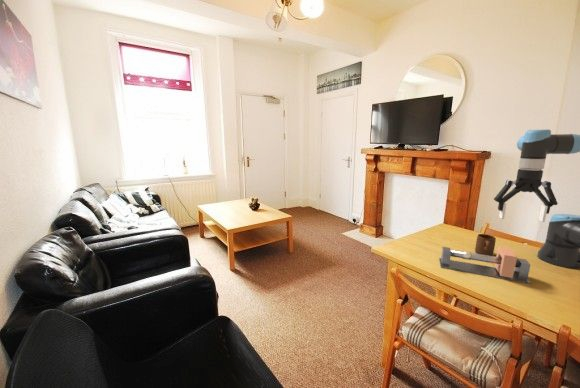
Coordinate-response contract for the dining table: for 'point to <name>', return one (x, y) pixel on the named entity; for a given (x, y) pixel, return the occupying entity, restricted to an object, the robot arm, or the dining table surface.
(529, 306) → the dining table surface
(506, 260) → the collar
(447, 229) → the dining table surface
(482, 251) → the mug
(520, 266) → the pipe rig
